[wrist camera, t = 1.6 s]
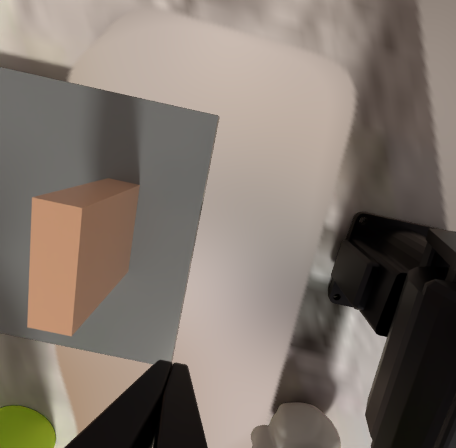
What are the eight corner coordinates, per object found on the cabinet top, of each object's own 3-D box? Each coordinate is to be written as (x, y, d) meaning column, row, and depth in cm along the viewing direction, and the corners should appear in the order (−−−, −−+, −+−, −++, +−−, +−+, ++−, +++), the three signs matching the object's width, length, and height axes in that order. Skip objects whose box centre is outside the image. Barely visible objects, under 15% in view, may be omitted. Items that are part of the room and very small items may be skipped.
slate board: (219, 116, 18) (218, 115, 17) (172, 360, 23) (170, 367, 22) (-43, 58, 18) (-56, 54, 17) (-36, 317, 22) (-46, 323, 22)
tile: (139, 184, 18) (82, 208, 12) (128, 271, 20) (71, 336, 13) (105, 177, 18) (28, 196, 12) (97, 264, 20) (23, 326, 13)
